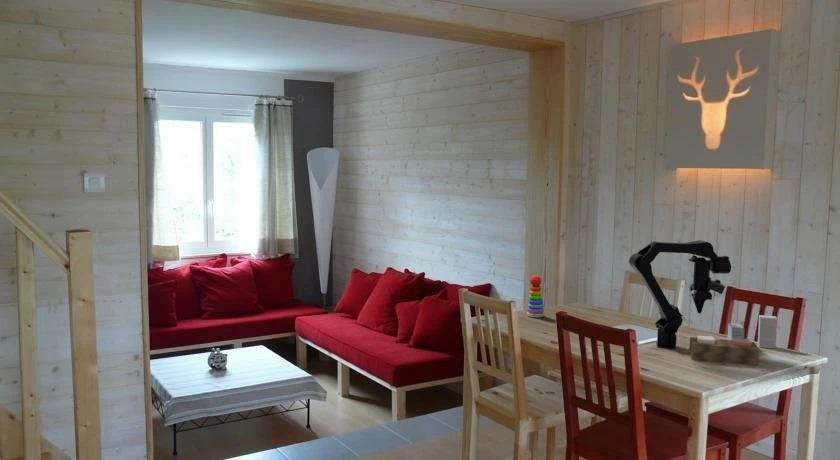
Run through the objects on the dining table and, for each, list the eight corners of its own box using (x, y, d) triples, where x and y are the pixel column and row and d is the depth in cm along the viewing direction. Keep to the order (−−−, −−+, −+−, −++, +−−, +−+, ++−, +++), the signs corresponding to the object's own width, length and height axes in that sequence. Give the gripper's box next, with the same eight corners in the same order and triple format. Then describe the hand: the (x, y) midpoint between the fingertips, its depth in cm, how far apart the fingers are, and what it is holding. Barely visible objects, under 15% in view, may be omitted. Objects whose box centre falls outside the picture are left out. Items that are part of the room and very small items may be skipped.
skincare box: (774, 346, 276) (776, 316, 275) (775, 348, 272) (777, 318, 271) (757, 344, 278) (758, 314, 277) (758, 347, 274) (760, 317, 273)
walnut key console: (691, 359, 256) (692, 343, 255) (689, 352, 265) (690, 337, 265) (758, 365, 250) (759, 349, 249) (752, 357, 259) (753, 342, 259)
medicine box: (743, 350, 270) (745, 328, 269) (731, 349, 270) (732, 327, 270) (738, 345, 277) (740, 323, 276) (726, 344, 278) (727, 322, 277)
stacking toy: (543, 314, 326) (545, 274, 324) (545, 318, 318) (546, 277, 317) (526, 313, 327) (527, 273, 325) (527, 317, 319) (528, 276, 317)
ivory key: (698, 349, 257) (699, 339, 256) (696, 345, 262) (697, 335, 262) (714, 351, 255) (715, 340, 255) (712, 347, 261) (713, 336, 260)
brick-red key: (734, 352, 254) (734, 341, 253) (731, 348, 259) (732, 338, 258) (750, 354, 252) (751, 343, 252) (747, 350, 257) (748, 339, 257)
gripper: (727, 278, 261) (725, 320, 262) (720, 271, 278) (718, 309, 280) (695, 276, 264) (693, 318, 265) (690, 269, 281) (688, 307, 283)
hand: (699, 313), depth 273 cm, fingers closed
